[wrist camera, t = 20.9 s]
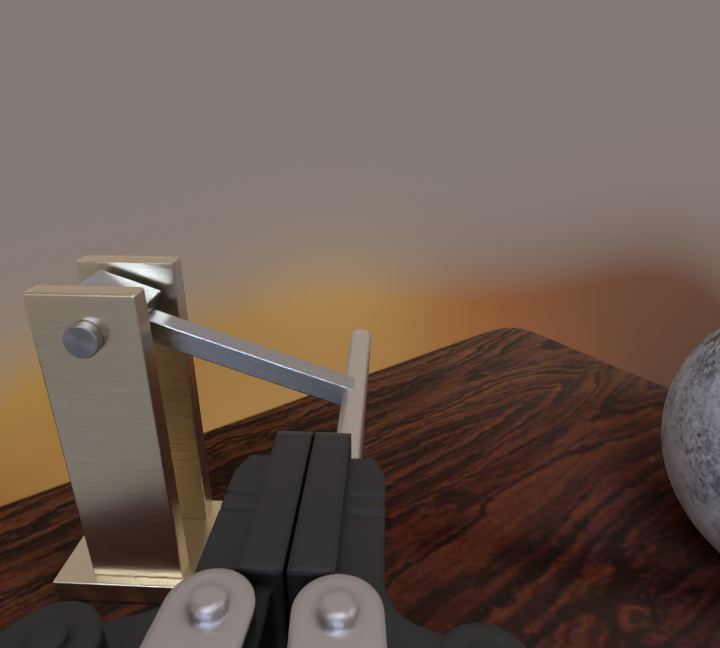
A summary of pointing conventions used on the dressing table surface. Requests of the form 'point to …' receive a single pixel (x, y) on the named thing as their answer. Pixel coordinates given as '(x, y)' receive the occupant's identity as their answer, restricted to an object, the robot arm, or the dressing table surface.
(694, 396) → the decorative orb
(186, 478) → the bracket
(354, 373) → the tap lever
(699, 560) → the dressing table surface
